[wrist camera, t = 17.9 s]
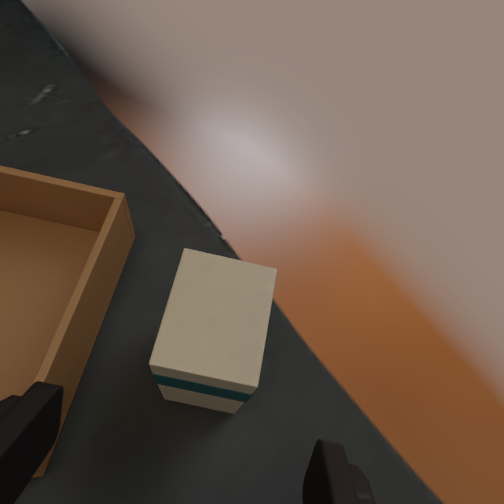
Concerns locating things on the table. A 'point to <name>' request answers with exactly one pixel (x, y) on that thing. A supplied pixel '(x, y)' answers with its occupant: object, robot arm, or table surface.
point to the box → (55, 278)
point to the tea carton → (213, 331)
